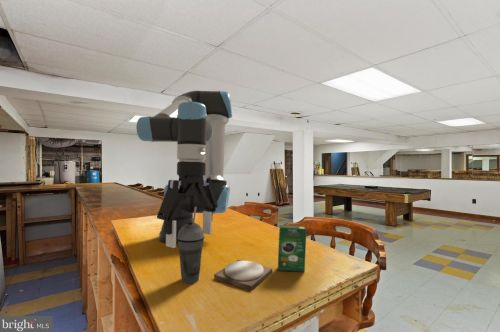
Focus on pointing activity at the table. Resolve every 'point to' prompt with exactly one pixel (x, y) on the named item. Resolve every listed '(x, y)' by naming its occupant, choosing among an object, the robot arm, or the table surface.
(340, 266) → the table surface
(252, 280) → the mount
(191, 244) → the beverage cup
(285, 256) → the coffee box
